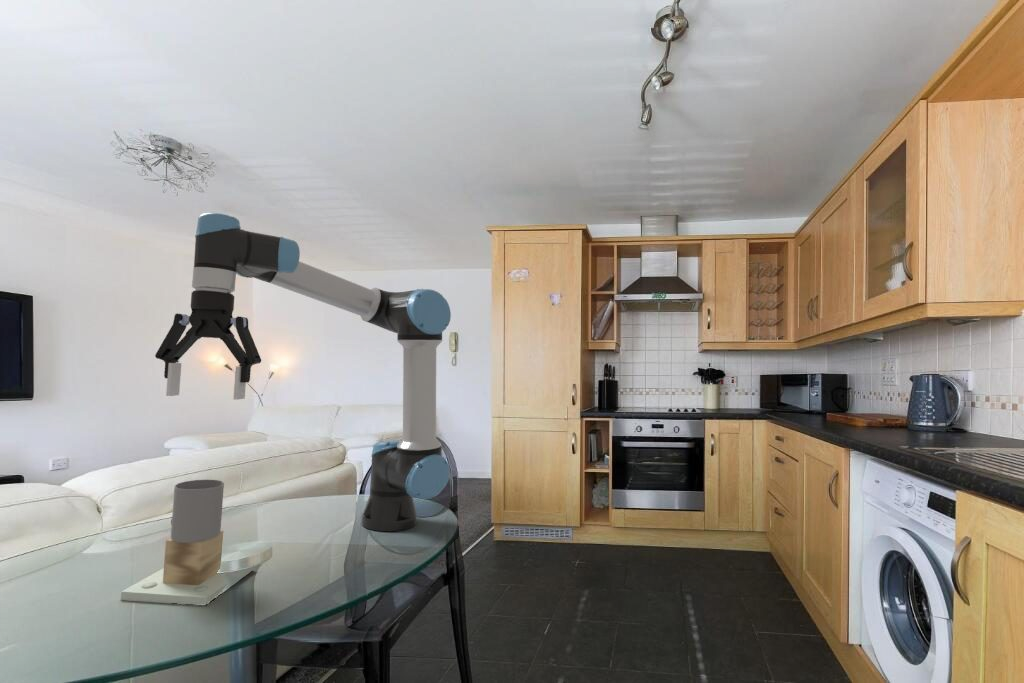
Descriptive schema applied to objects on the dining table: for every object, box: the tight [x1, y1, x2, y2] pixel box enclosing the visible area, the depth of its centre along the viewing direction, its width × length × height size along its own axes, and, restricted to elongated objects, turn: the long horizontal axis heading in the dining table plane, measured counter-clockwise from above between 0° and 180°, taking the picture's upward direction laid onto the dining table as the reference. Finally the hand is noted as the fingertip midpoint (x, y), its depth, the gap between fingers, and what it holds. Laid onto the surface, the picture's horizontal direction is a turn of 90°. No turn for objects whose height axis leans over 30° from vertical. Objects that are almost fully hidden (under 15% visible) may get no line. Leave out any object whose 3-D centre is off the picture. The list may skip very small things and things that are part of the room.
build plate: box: [120, 567, 228, 605], centre depth 103 cm, size 16×16×2 cm
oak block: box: [163, 530, 224, 585], centre depth 103 cm, size 7×7×8 cm
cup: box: [170, 479, 225, 543], centre depth 103 cm, size 8×8×10 cm
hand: (205, 397), depth 104 cm, fingers open, 13 cm apart
